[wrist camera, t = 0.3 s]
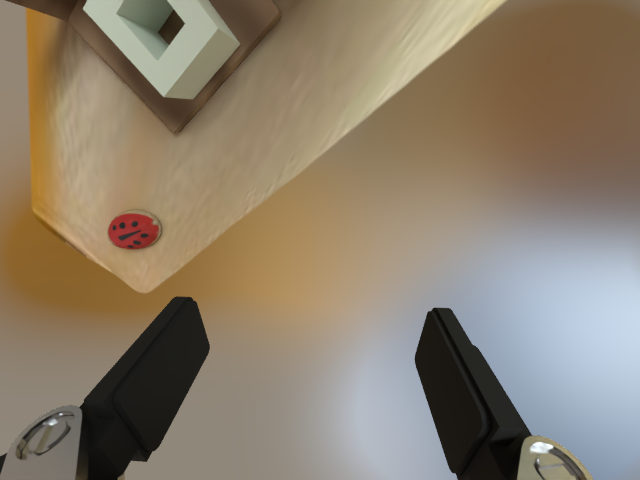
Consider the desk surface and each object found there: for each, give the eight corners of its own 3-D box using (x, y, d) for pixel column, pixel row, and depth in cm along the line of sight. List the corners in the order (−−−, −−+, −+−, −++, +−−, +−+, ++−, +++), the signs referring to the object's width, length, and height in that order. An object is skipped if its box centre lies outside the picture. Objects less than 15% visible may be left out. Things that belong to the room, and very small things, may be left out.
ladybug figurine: (106, 221, 42) (88, 230, 39) (146, 199, 40) (130, 207, 37) (134, 251, 45) (119, 261, 42) (173, 232, 43) (161, 242, 40)
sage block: (177, -43, 25) (133, -85, 19) (240, 44, 28) (218, 28, 22) (130, 28, 28) (82, 8, 22) (193, 99, 31) (163, 97, 25)
